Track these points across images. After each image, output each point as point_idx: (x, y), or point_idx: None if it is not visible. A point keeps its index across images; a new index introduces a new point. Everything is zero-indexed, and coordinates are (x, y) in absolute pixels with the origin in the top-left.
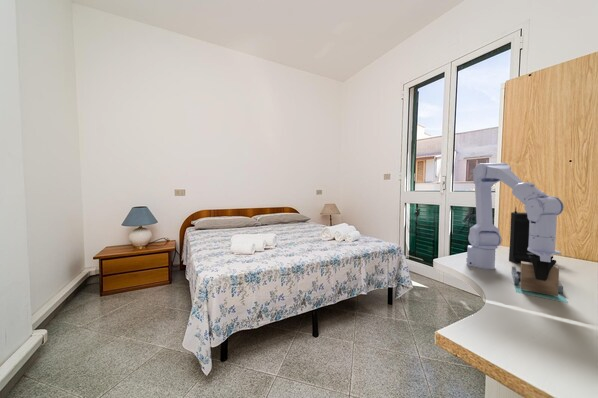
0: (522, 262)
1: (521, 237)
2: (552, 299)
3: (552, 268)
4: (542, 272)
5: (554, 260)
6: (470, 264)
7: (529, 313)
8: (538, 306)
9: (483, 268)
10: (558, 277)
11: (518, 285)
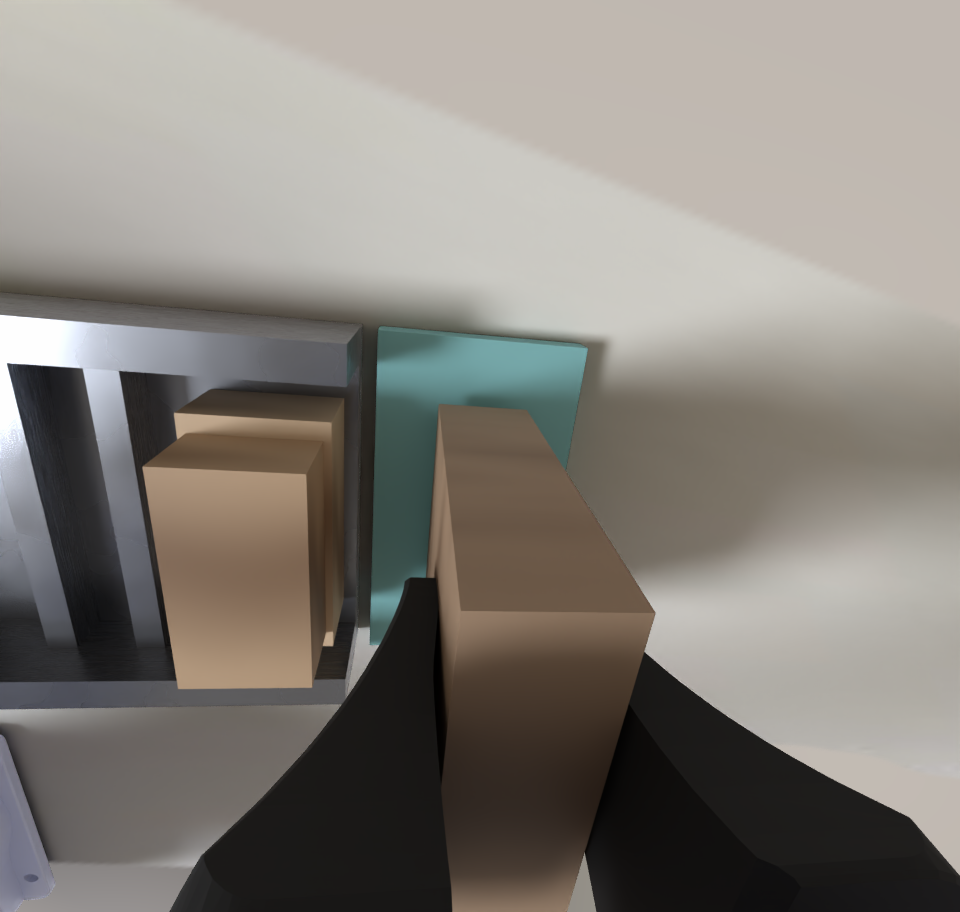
0: None
1: None
2: (564, 446)
3: (624, 674)
4: None
5: (853, 897)
6: (5, 905)
7: (827, 593)
8: (695, 536)
9: (6, 819)
10: (589, 510)
11: (346, 621)
